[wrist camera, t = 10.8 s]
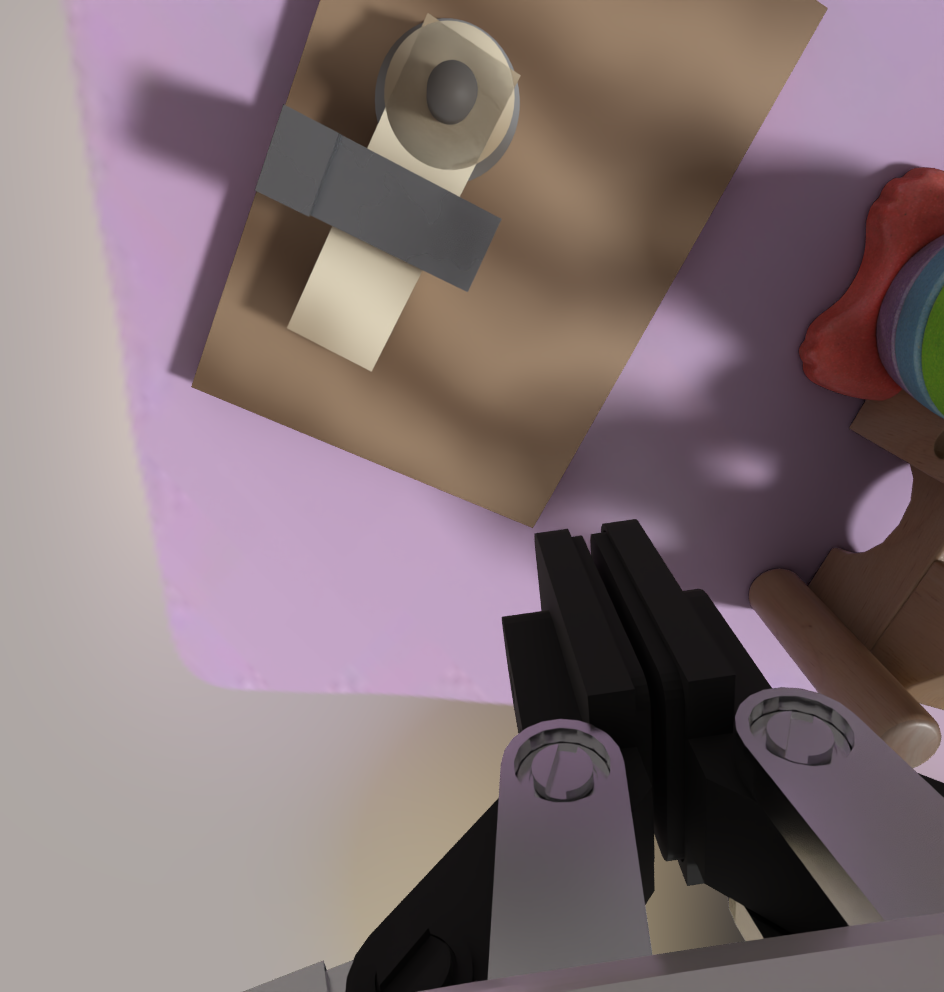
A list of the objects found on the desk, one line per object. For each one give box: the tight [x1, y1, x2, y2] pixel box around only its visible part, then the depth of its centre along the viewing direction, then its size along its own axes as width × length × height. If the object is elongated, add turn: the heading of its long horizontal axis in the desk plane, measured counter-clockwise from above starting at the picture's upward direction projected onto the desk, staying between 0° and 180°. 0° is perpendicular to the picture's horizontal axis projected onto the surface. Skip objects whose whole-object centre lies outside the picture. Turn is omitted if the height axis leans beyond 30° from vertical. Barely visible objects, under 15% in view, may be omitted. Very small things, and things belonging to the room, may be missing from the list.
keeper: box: [255, 104, 501, 292], centre depth 28 cm, size 3×8×6 cm, turn 64°
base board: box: [191, 0, 828, 528], centre depth 31 cm, size 26×18×2 cm
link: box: [287, 13, 521, 372], centre depth 28 cm, size 14×5×4 cm, turn 151°
